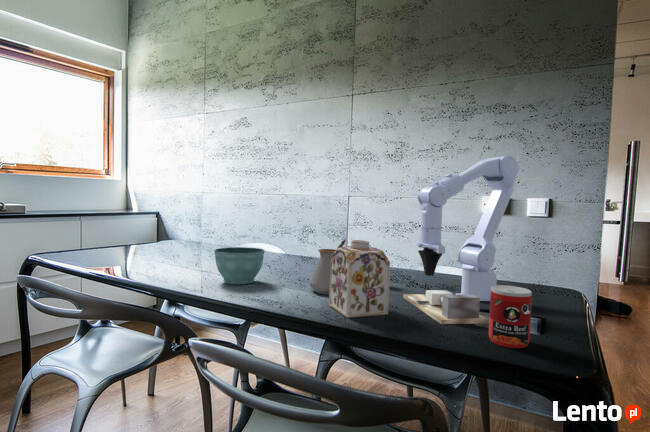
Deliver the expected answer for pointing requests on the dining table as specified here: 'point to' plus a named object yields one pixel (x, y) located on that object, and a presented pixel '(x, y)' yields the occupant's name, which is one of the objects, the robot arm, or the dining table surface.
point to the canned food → (510, 316)
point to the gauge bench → (438, 312)
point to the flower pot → (239, 264)
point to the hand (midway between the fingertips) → (429, 275)
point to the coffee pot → (323, 271)
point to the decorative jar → (359, 280)
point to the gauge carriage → (435, 296)
